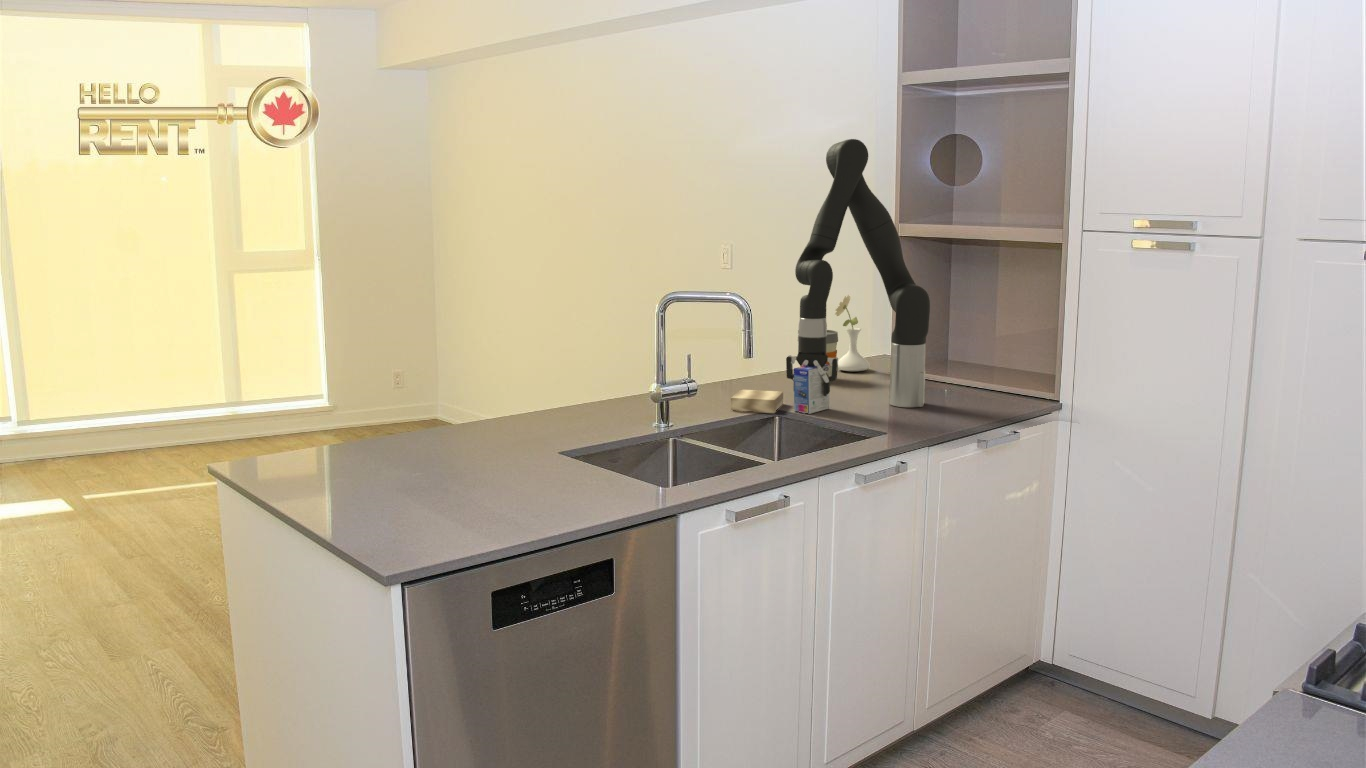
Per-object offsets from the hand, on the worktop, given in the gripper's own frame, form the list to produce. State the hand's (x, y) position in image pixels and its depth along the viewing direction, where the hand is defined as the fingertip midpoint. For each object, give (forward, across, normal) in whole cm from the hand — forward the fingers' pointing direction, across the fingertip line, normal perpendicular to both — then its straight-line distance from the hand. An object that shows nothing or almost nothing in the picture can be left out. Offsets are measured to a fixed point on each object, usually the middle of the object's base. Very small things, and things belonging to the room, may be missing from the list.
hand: (811, 394), depth 283 cm
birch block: (+5, +15, 0) cm, 16 cm away
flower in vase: (+4, -2, -63) cm, 63 cm away
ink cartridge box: (+4, 0, 0) cm, 4 cm away
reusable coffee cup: (+4, +6, -45) cm, 46 cm away
